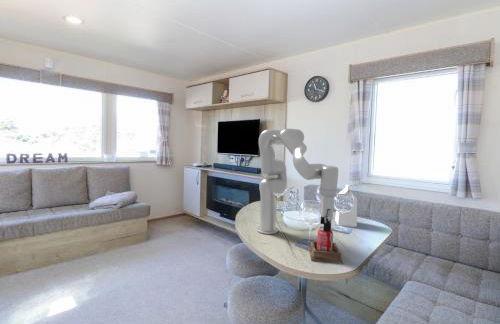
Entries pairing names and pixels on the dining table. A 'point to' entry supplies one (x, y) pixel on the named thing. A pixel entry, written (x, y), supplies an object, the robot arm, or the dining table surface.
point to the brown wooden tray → (325, 254)
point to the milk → (348, 217)
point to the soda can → (324, 240)
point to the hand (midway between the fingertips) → (325, 227)
